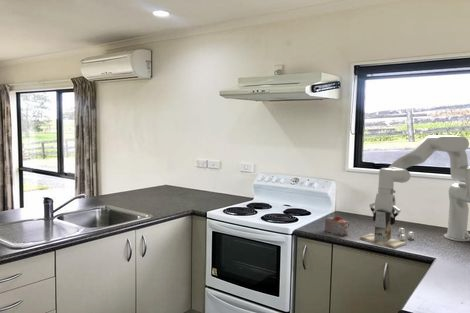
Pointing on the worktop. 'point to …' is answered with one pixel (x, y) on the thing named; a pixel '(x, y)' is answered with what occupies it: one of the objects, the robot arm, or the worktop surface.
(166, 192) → the worktop surface
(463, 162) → the robot arm
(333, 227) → the food item
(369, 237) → the board
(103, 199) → the worktop surface
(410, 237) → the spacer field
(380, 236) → the coffee box
